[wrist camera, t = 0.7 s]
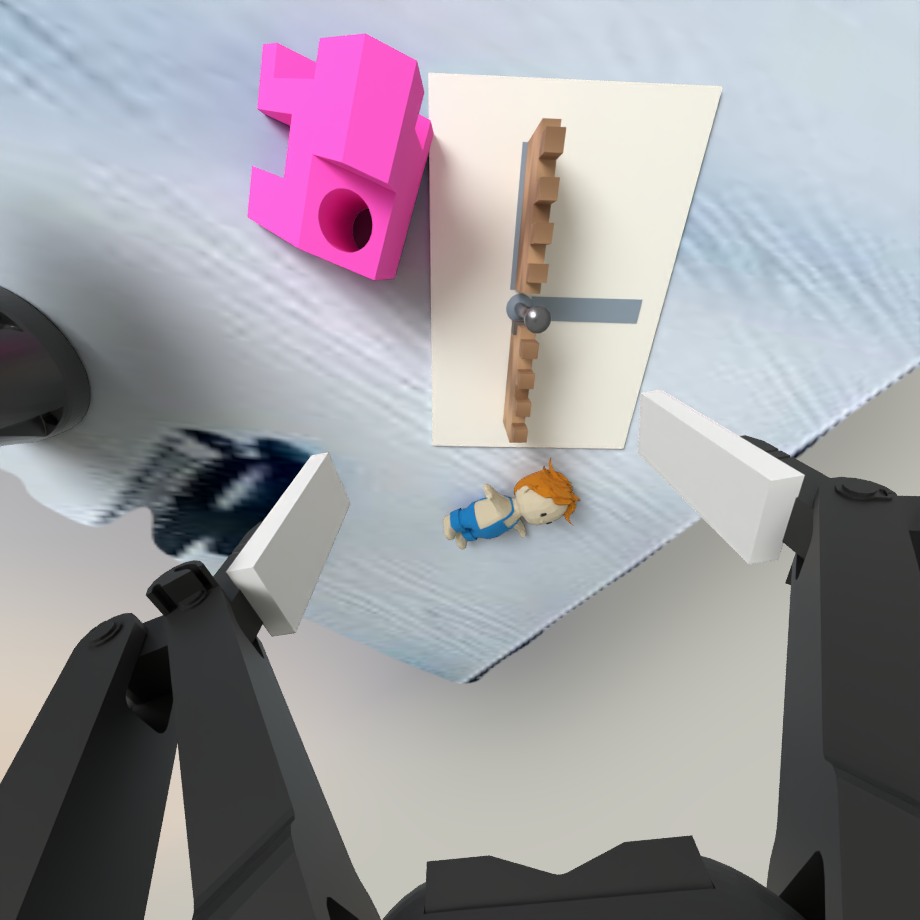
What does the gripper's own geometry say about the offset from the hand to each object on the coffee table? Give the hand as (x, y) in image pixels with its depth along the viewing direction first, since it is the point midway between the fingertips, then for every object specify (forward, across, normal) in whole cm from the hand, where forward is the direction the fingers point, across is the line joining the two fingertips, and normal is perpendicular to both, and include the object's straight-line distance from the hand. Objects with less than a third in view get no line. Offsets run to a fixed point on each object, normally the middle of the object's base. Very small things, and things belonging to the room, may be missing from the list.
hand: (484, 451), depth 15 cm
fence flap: (+21, +4, -3) cm, 22 cm away
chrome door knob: (+22, +5, +3) cm, 23 cm away
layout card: (+22, +8, +2) cm, 23 cm away
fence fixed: (+22, +7, +9) cm, 24 cm away
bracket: (+22, -7, +15) cm, 27 cm away
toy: (+22, +2, -18) cm, 29 cm away
